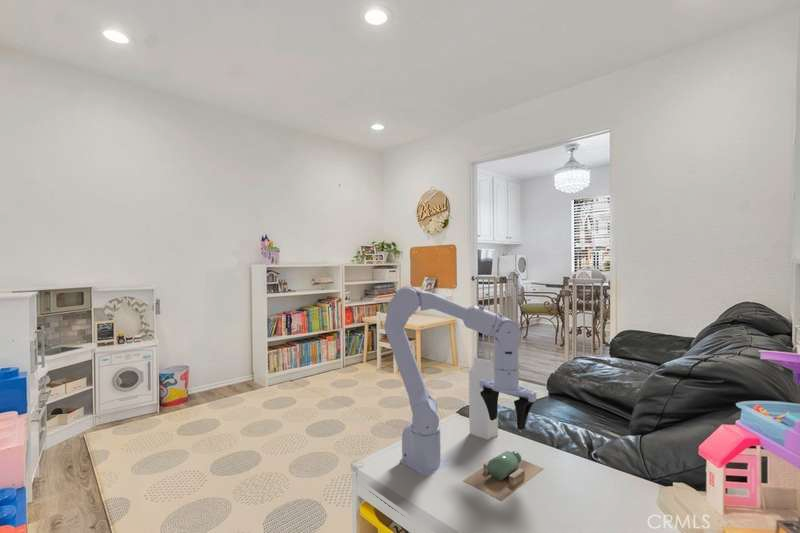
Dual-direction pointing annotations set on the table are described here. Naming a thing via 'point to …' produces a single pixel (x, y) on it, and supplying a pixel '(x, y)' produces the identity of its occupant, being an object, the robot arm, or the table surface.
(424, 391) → the robot arm
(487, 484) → the rest board
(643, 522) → the table surface
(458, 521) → the table surface
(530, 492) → the table surface
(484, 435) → the milk
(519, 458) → the bottle
